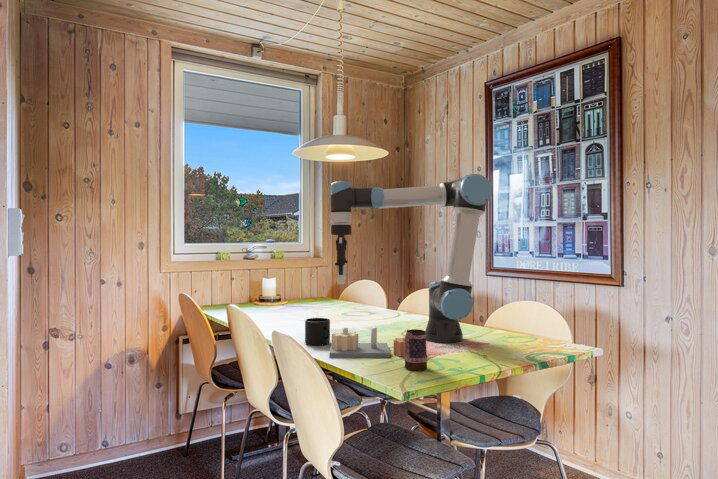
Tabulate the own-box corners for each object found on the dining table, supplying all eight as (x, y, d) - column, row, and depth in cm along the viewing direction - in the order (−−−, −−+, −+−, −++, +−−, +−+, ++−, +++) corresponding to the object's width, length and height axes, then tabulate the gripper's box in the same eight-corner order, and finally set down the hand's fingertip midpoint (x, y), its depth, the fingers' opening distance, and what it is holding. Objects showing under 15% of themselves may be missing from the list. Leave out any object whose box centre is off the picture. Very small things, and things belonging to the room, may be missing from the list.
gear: (418, 351, 179) (418, 337, 179) (422, 357, 169) (422, 342, 169) (392, 351, 179) (392, 337, 179) (394, 357, 169) (394, 342, 169)
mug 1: (319, 348, 183) (319, 323, 183) (300, 343, 192) (300, 319, 192) (339, 344, 189) (339, 320, 189) (319, 339, 198) (319, 317, 198)
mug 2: (411, 364, 161) (411, 327, 160) (431, 367, 157) (431, 329, 156) (395, 371, 152) (395, 331, 152) (416, 375, 148) (416, 334, 148)
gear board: (386, 347, 186) (387, 324, 185) (390, 357, 170) (390, 332, 169) (331, 347, 185) (331, 324, 185) (329, 357, 169) (329, 332, 169)
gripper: (332, 225, 195) (333, 279, 195) (328, 223, 170) (329, 285, 171) (351, 224, 195) (352, 279, 195) (350, 223, 170) (351, 285, 171)
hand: (341, 282), depth 183 cm, fingers open, 13 cm apart
